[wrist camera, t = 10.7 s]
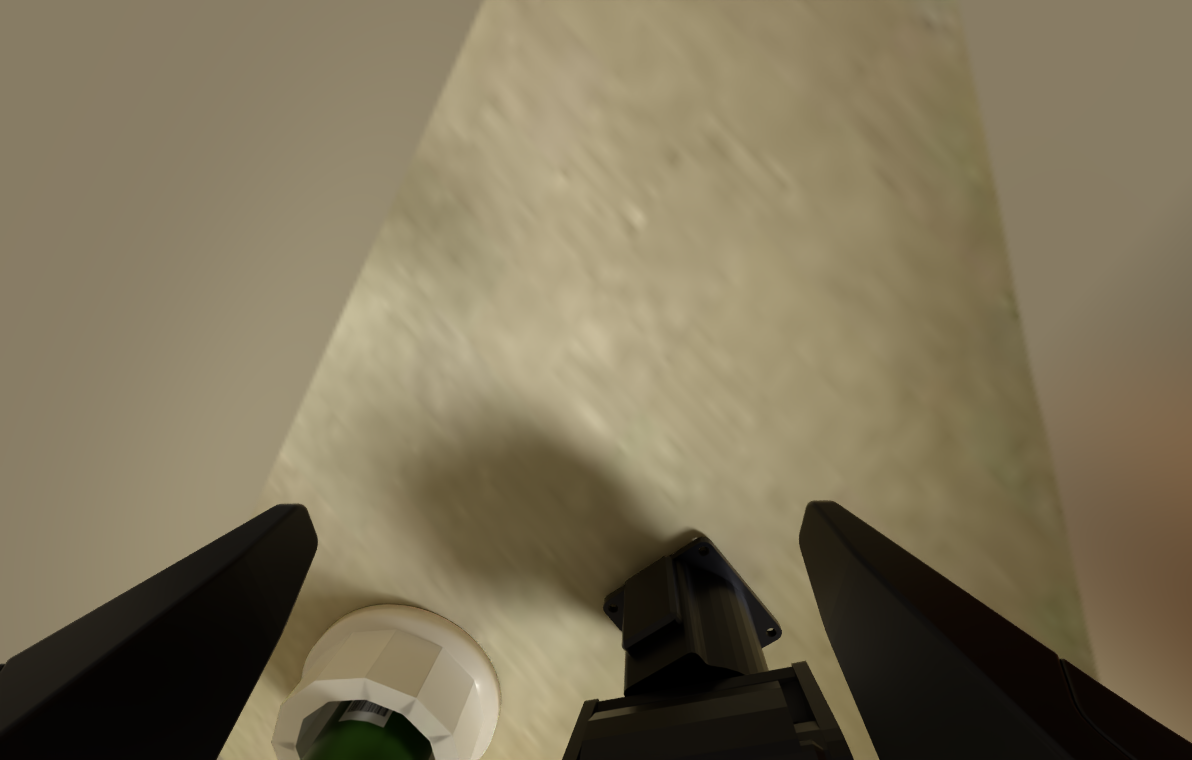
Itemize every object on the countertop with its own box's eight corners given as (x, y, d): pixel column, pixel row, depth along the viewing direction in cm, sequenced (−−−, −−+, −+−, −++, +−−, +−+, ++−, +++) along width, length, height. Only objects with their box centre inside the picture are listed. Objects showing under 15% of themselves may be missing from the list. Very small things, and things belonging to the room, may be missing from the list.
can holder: (541, 710, 26) (524, 787, 22) (405, 791, 29) (368, 873, 25) (406, 568, 25) (364, 624, 21) (275, 666, 27) (215, 732, 23)
